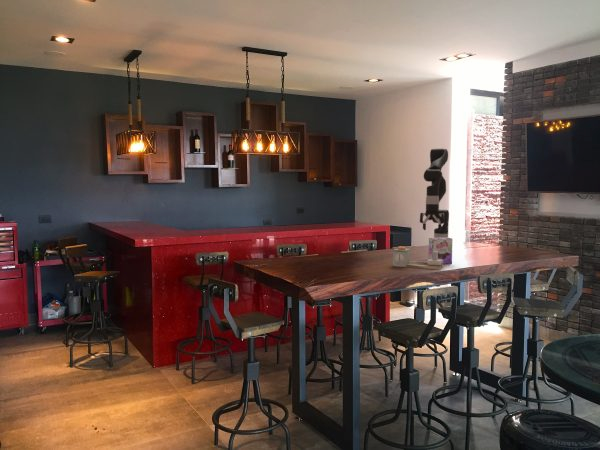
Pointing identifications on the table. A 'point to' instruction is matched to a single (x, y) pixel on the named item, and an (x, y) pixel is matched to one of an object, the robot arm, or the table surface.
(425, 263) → the rail board
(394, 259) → the gauge cabinet
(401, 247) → the button
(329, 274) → the table surface
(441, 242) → the candy box
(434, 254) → the carriage
